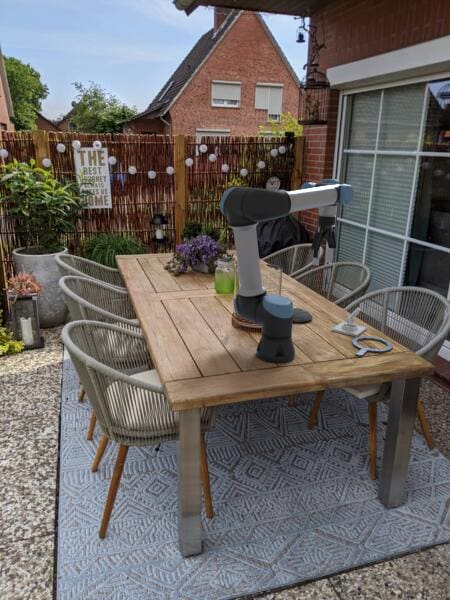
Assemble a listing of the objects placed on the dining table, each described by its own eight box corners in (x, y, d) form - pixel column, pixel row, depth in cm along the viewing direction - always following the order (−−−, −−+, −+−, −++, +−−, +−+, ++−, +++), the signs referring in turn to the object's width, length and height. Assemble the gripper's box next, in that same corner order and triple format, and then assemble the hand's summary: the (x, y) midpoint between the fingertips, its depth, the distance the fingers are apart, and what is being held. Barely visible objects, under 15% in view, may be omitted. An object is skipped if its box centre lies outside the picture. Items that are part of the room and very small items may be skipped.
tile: (356, 337, 195) (357, 334, 195) (331, 330, 202) (331, 328, 202) (366, 329, 205) (367, 327, 204) (342, 323, 212) (342, 321, 211)
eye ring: (378, 361, 171) (378, 359, 171) (339, 351, 180) (339, 349, 180) (397, 344, 188) (397, 342, 188) (360, 335, 198) (360, 333, 197)
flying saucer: (287, 312, 228) (287, 302, 226) (315, 317, 222) (316, 306, 220) (277, 320, 215) (278, 310, 213) (307, 326, 209) (308, 315, 207)
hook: (372, 320, 198) (362, 313, 195) (353, 339, 202) (343, 332, 199) (366, 312, 204) (356, 304, 202) (348, 330, 208) (337, 323, 206)
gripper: (331, 214, 206) (327, 260, 211) (305, 215, 187) (301, 265, 192) (346, 216, 202) (341, 262, 207) (322, 216, 182) (317, 267, 187)
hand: (322, 263), depth 199 cm, fingers open, 13 cm apart
